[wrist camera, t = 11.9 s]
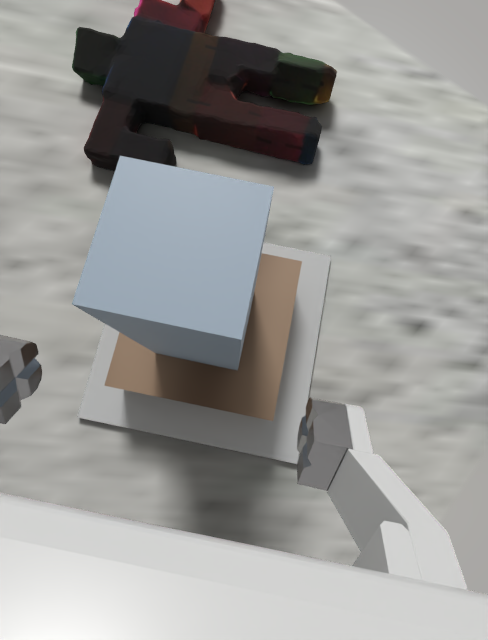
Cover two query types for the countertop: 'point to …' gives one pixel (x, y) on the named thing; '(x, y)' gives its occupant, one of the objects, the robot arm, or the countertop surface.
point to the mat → (217, 424)
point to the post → (177, 260)
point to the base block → (217, 382)
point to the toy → (195, 87)
